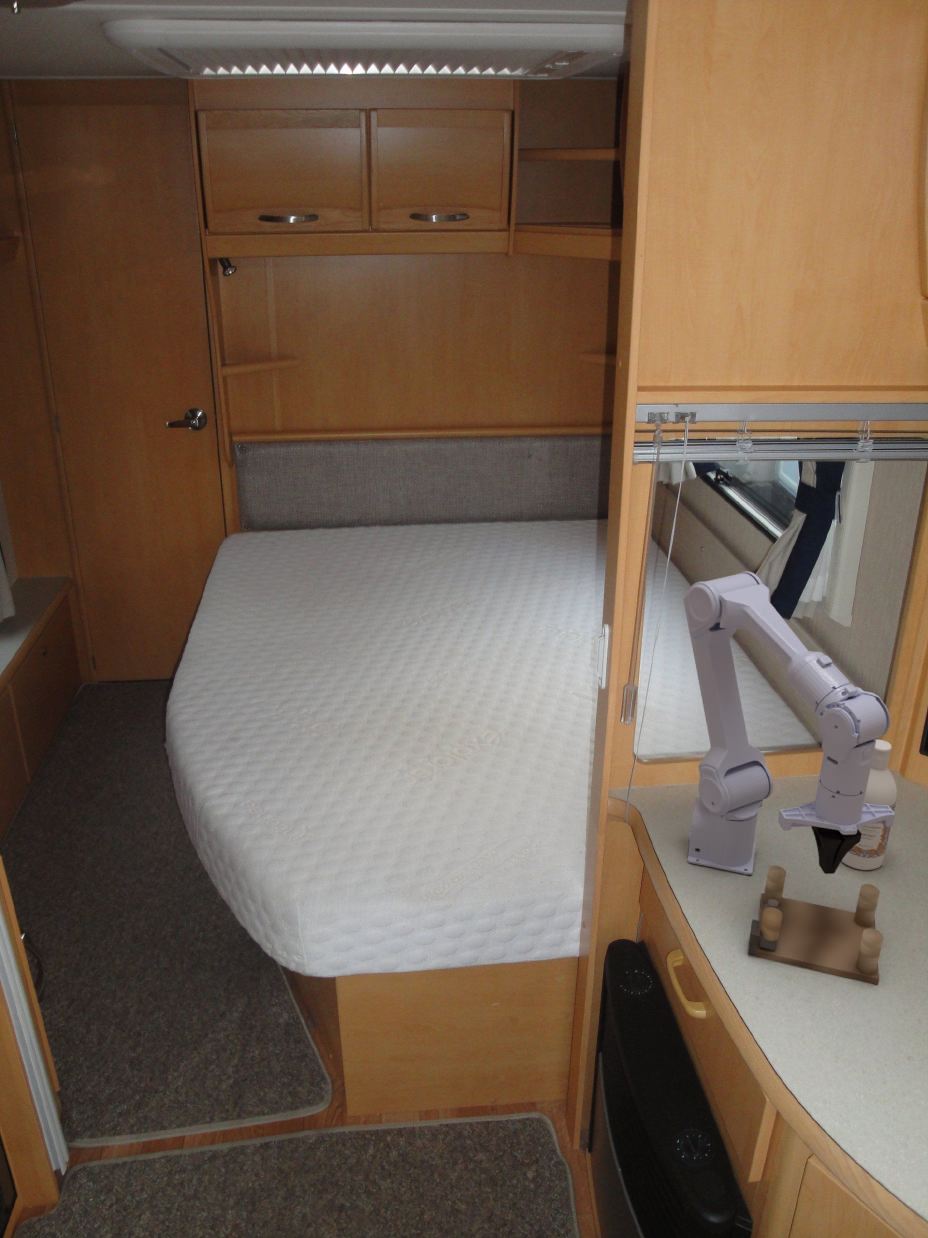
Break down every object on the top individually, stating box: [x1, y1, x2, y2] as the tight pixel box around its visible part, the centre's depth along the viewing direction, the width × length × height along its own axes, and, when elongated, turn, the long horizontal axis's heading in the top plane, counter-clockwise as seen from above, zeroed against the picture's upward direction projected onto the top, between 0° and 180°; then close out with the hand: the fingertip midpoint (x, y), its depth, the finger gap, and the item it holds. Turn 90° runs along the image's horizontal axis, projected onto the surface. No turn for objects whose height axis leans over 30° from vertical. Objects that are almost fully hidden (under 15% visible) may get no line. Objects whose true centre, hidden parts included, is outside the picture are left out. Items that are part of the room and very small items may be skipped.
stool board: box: [747, 865, 884, 986], centre depth 125 cm, size 16×12×6 cm
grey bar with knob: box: [760, 899, 783, 951], centre depth 125 cm, size 8×2×5 cm, turn 159°
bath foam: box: [841, 739, 898, 871], centre depth 138 cm, size 7×7×20 cm
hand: (826, 869), depth 124 cm, fingers closed
